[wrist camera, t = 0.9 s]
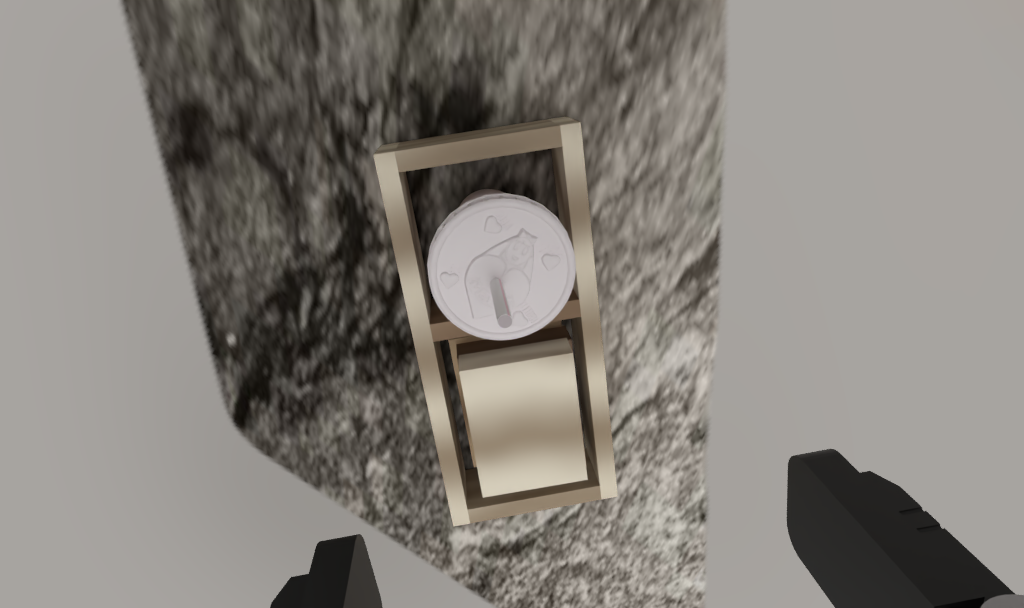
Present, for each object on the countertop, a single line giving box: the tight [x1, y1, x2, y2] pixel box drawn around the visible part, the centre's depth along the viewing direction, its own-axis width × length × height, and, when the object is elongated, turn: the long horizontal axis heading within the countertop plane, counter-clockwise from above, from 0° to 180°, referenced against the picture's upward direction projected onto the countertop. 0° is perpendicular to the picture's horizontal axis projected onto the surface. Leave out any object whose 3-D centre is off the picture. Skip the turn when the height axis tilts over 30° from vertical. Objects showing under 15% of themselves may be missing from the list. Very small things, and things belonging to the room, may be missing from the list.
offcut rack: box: [373, 116, 618, 526], centre depth 36 cm, size 22×10×4 cm, turn 8°
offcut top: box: [459, 338, 588, 498], centre depth 35 cm, size 8×6×2 cm
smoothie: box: [427, 189, 576, 340], centre depth 29 cm, size 6×6×14 cm
